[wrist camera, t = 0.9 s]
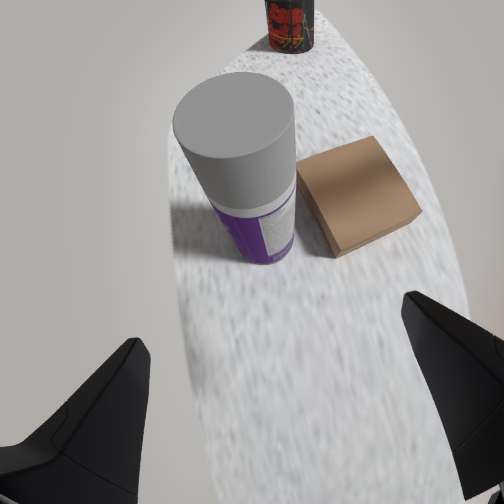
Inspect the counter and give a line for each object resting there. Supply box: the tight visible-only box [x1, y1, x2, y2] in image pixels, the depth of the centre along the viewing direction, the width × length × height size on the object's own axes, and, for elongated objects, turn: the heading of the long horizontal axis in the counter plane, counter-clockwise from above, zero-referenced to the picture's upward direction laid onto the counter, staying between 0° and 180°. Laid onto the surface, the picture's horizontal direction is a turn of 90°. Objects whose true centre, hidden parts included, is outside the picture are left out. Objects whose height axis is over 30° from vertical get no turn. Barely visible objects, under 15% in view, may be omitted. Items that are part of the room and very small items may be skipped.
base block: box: [296, 136, 422, 259], centre depth 22 cm, size 8×8×2 cm
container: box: [173, 72, 296, 265], centre depth 16 cm, size 5×5×15 cm
